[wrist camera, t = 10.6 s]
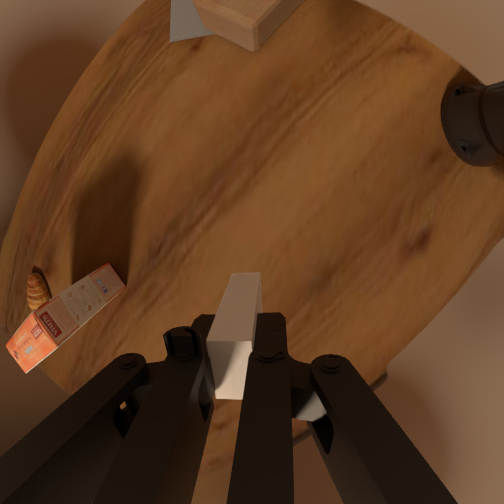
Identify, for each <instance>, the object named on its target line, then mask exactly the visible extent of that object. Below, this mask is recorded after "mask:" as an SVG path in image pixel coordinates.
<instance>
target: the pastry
mask: <svg viewBox="0 0 504 504" xmlns="http://www.w3.org/2000/svg"><path fill="white" fill-rule="evenodd" d="M26 291H27V299H28V300H29V301H28V305H29V307H31V308H32V311H34V310H35V309H37V308H38V307H40V306H41V305H43V304H44V303H45V302H47V301H49V300H50V299H51V297H50V294H49V292H48V289H47V286H46V284H45V281H44V280H43V278H42V277H41V275H40V274H39V273H31V274H30V275H29V277H28V282H27V289H26Z"/></svg>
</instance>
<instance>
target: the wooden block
mask: <svg viewBox="0 0 504 504" xmlns="http://www.w3.org/2000/svg"><path fill="white" fill-rule="evenodd" d="M303 1H304V0H193V4H194V6H195V8H196V10H197V13H198V15H199V17H200V19H201V21H202V24H203V26H204V27H205V28H206V29H207V30H209V31H211V32H213V33H215V34H217V35H220V36H222V37H224V38H226V39H228V40H230V41H232V42H234V43H236V44H238V45H240V46H242V47H243V48H245V49H247V50H249V51H253V52H255V51H256V50H258V49H259V48H260V47H261V46H262V45H263V44H264V43H265V41H266V40H267V39H268V38H269V37H270V36H271V35H272V34H273V33H274V31H275V30H276V29H277V28H278V27H279V26H280V25H281V24H282V23H283V22H284V21H285V20H286V19H287V18H288V16H289V15H290V14H291V13H292V12H293V11H294V10H295V9H296V8H297V7H298V6H299V5H300V4H301V3H302V2H303Z"/></svg>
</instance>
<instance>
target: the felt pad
mask: <svg viewBox="0 0 504 504" xmlns="http://www.w3.org/2000/svg"><path fill="white" fill-rule="evenodd" d="M213 34H215V33H213V32H211V31H209V30H207V29H206V28H205V27H204V26H203V24H202V21H201V19H200V17H199V15H198V13H197V10H196V8H195V6H194V4H193V0H171V20H170V42H174V41H179V40H184V39H189V38H195V37H200V36H207V35H213Z"/></svg>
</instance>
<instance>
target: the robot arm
mask: <svg viewBox="0 0 504 504" xmlns="http://www.w3.org/2000/svg"><path fill="white" fill-rule="evenodd" d="M441 120H442V126H443V130H444V133H445V136H446V138H447V140H448V142H449V144H450V146H451V148H452V149H453V151H454V152H455V153H456V154H457V156H458V157H459V158H460V159H462V160H463V161H464V162H466V163H467V164H469V165H472V166H479V167H487V166H491V165H493V164H495V163H497V162H499V161H501V160H503V159H504V81H502V82H498V83H495V84H492V85H489V86H486V85H481V84H475V83H468V82H466V83H460V84H457V85H455V86H453V87H451V88H450V89H449V90H448V91H447V92H446V93H445V95H444V97H443V100H442V105H441ZM163 338H164V342H165V346H166V350H167V354H168V355H167V357H166V359H165V361H160V362H153V363H146V360H145V358H144V357H143V356H142V355H140V354H137V353H127V354H124V355H121V356H119V357H117V358H115V359H114V360H113V361H112V362H111V363H109V364H108V365H107V366H106V367H105V368H104V369H102V370H101V371H100V372H99V373H98V374H96V375H95V376H94V377H93V378H92V379H91V380H89V381H88V382H87V383H86V384H85V385H84V386H82V387H81V388H80V389H79V390H78V391H77V392H75V393H74V394H73V395H72V396H71V397H70V398H68V399H67V400H66V401H65V402H64V403H63V404H61V405H60V406H59V407H58V408H57V409H56V410H54V411H53V412H52V413H51V414H50V415H49V416H47V417H46V418H45V419H44V420H43V421H42V422H40V423H39V424H38V425H37V426H36V427H35V428H34V429H32V430H31V431H30V432H29V433H28V434H27V435H25V436H24V437H23V438H22V439H21V440H20V441H19V442H17V443H16V444H15V445H14V446H13V447H12V448H10V449H9V450H8V451H7V452H6V453H5V454H4V455H3V456H1V457H0V504H91V503H92V502H93V503H92V504H191V501H192V497H193V493H194V489H195V484H196V480H197V476H198V472H199V468H200V464H201V460H202V456H203V451H204V447H205V443H206V439H207V435H208V431H209V427H210V423H211V418H212V414H213V410H214V403H213V398H212V397H213V394H214V390H215V394H216V399H242V406H241V413H240V420H239V426H238V433H237V440H236V446H235V453H234V459H233V466H232V472H231V479H230V486H229V492H228V498H227V504H294V480H293V478H294V477H293V441H292V418H297V419H302V420H306V421H307V425H308V427H309V430H310V432H311V434H312V436H313V438H314V441H315V443H316V445H317V447H318V449H319V452H320V454H321V456H322V458H323V460H324V463H325V465H326V467H327V469H328V471H329V473H330V476H331V478H332V479H333V482H334V484H335V486H336V489H337V491H338V492H339V495H340V497H341V499H342V501H343V503H344V504H458V503H457V502H456V500H455V499H454V498H453V497H452V495H451V494H450V492H449V491H448V490H447V488H446V487H445V486H444V484H443V483H442V482H441V480H440V479H439V478H438V476H437V475H436V474H435V472H434V471H433V470H432V468H431V467H430V466H429V464H428V463H427V462H426V460H425V459H424V458H423V457H422V455H421V454H420V452H419V451H418V450H417V448H416V447H415V446H414V445H413V443H412V442H411V441H410V439H409V438H408V437H407V435H406V434H405V433H404V431H403V430H402V429H401V427H400V426H399V425H398V423H397V422H396V421H395V420H394V418H393V417H392V416H391V414H390V413H389V412H388V411H387V409H386V408H385V407H384V405H383V404H382V403H381V401H380V400H379V399H378V398H377V396H376V395H375V394H374V392H373V391H372V390H371V388H370V387H369V386H368V384H367V383H366V382H365V381H364V379H363V378H362V377H361V375H360V374H359V373H358V372H357V370H356V369H355V368H354V366H353V365H352V364H351V363H350V361H349V360H347V359H346V358H345V357H342V356H340V355H334V354H328V355H322V356H319V357H317V358H315V359H314V360H313V361H312V363H311V364H308V363H303V362H299V361H297V360H294V359H293V358H292V357H290V355H289V354H288V351H287V336H286V321H285V317H284V316H283V315H282V314H281V313H280V312H278V313H262V297H261V279H260V272H250V273H232V274H231V277H230V280H229V282H228V285H227V287H226V290H225V292H224V295H223V298H222V300H221V303H220V305H219V308H218V311H217V313H216V315H207V314H201V315H200V316H199V317H198V318H196V319H195V320H194V322H193V324H192V326H191V327H189V326H181V327H176V328H172V329H170V330H168V331H167V332H166V333H165V334H164V335H163ZM124 401H125V404H126V407H125V408H123V409H121V408H120V405H121V404H122V403H123V402H124ZM93 500H94V501H93Z"/></svg>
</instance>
